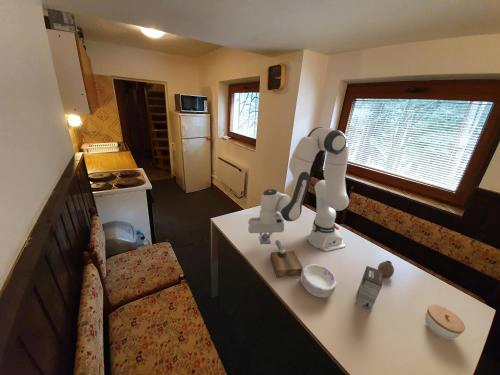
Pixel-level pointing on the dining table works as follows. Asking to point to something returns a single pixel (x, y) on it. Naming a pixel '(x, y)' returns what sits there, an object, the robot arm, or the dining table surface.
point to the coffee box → (369, 288)
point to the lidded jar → (444, 322)
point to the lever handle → (280, 248)
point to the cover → (265, 239)
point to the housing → (286, 264)
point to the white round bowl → (318, 280)
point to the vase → (386, 269)
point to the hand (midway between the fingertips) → (265, 237)
